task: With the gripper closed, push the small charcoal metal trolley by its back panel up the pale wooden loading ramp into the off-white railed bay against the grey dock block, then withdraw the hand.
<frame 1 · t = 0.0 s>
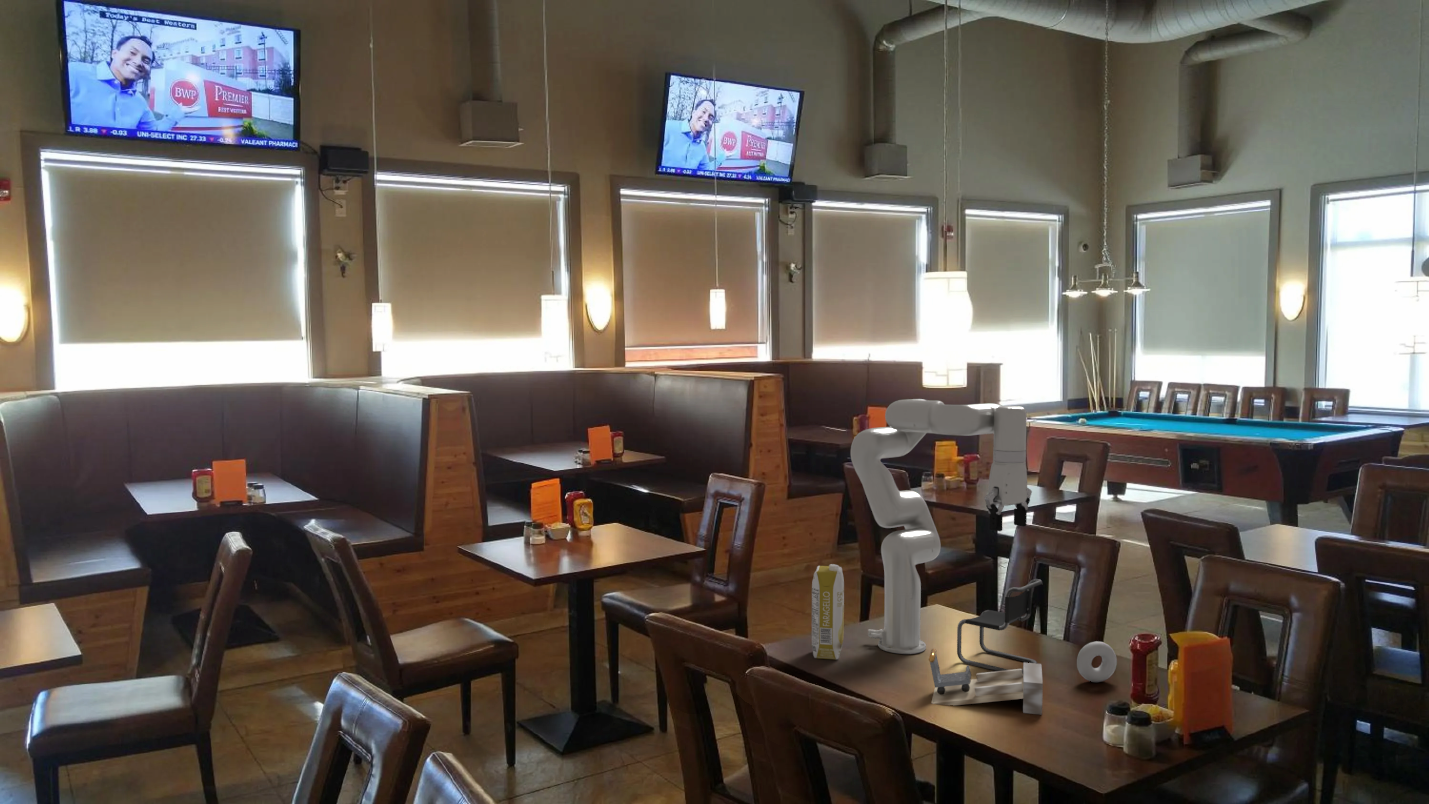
hand: (1008, 527, 242), 37 cm above the table, tool pointing down, fingers open, 9 cm apart
dock: (977, 697, 232), on the table
donut: (1096, 682, 243), on the table
chair: (998, 663, 257), on the table
juice carton: (827, 655, 264), on the table
trolley: (950, 672, 234), point 5 cm above the table, slide at 0.0 cm
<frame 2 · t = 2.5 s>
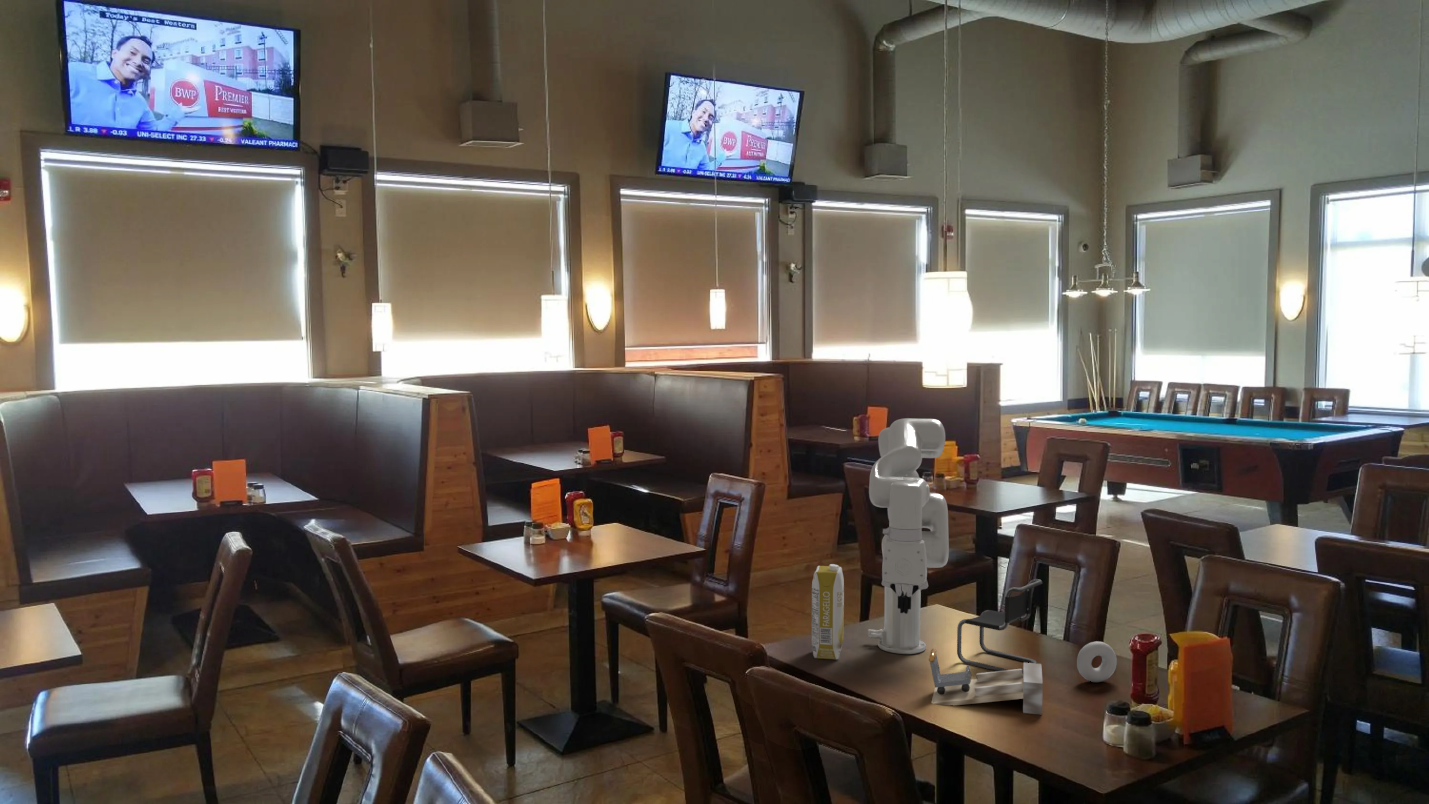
hand: (904, 611, 236), 19 cm above the table, tool pointing down, fingers closed
nothing on the table moved.
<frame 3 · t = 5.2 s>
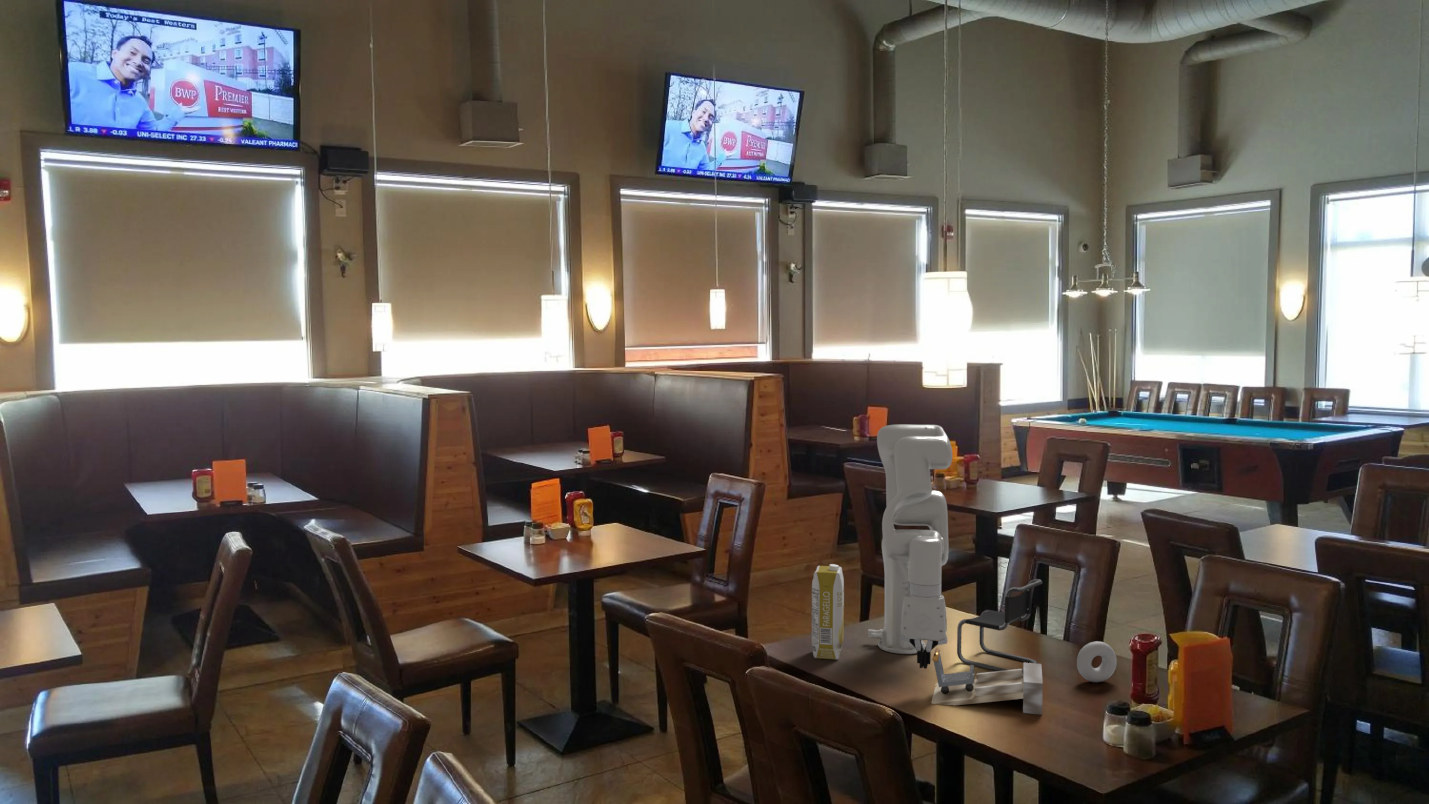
hand: (923, 666, 236), 6 cm above the table, tool pointing down, fingers closed
trolley: (954, 672, 234), point 5 cm above the table, slide at 0.9 cm, touching gripper
everything else where it was.
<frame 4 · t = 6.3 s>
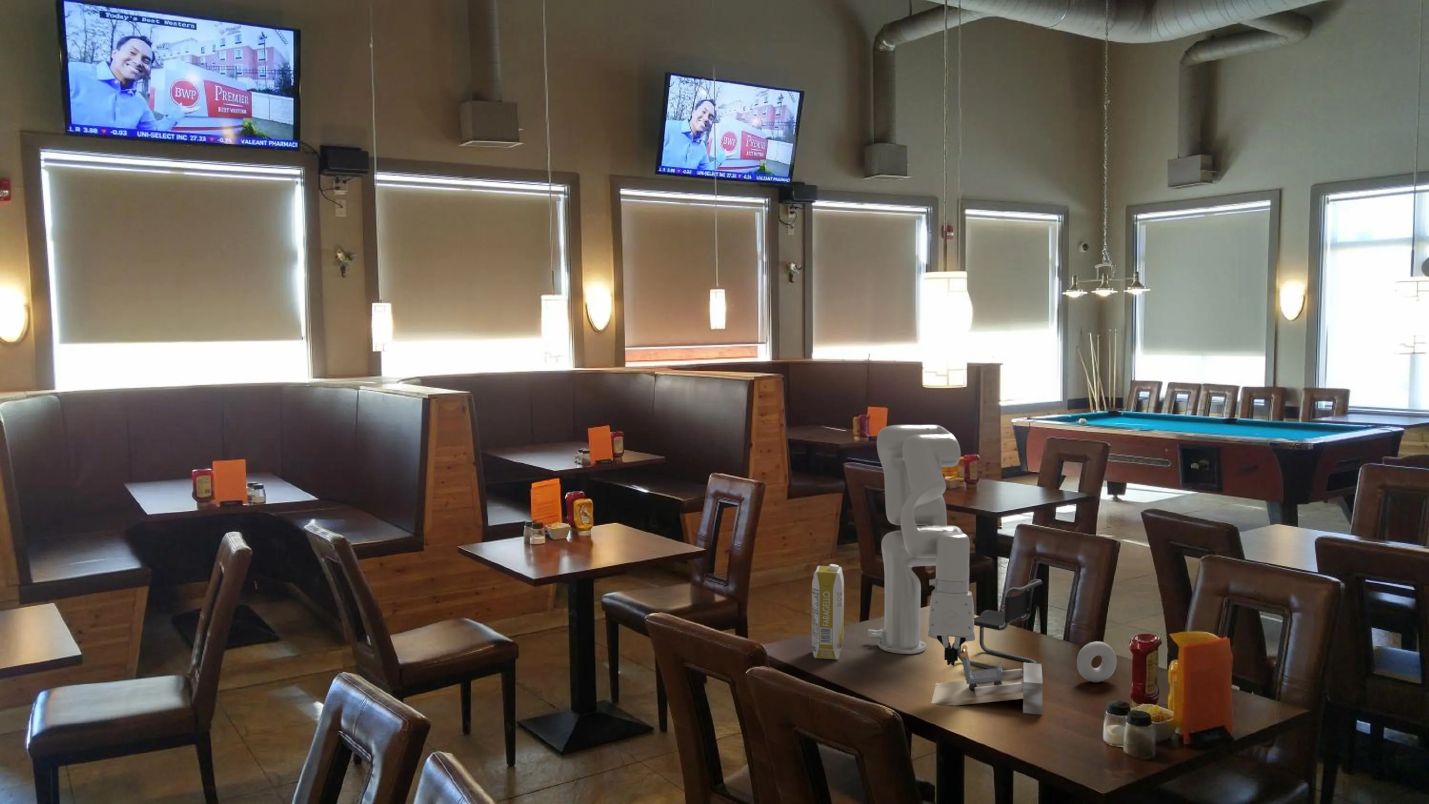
hand: (951, 663, 234), 7 cm above the table, tool pointing down, fingers closed
trolley: (981, 669, 232), point 7 cm above the table, slide at 7.3 cm, touching gripper
everything else where it was.
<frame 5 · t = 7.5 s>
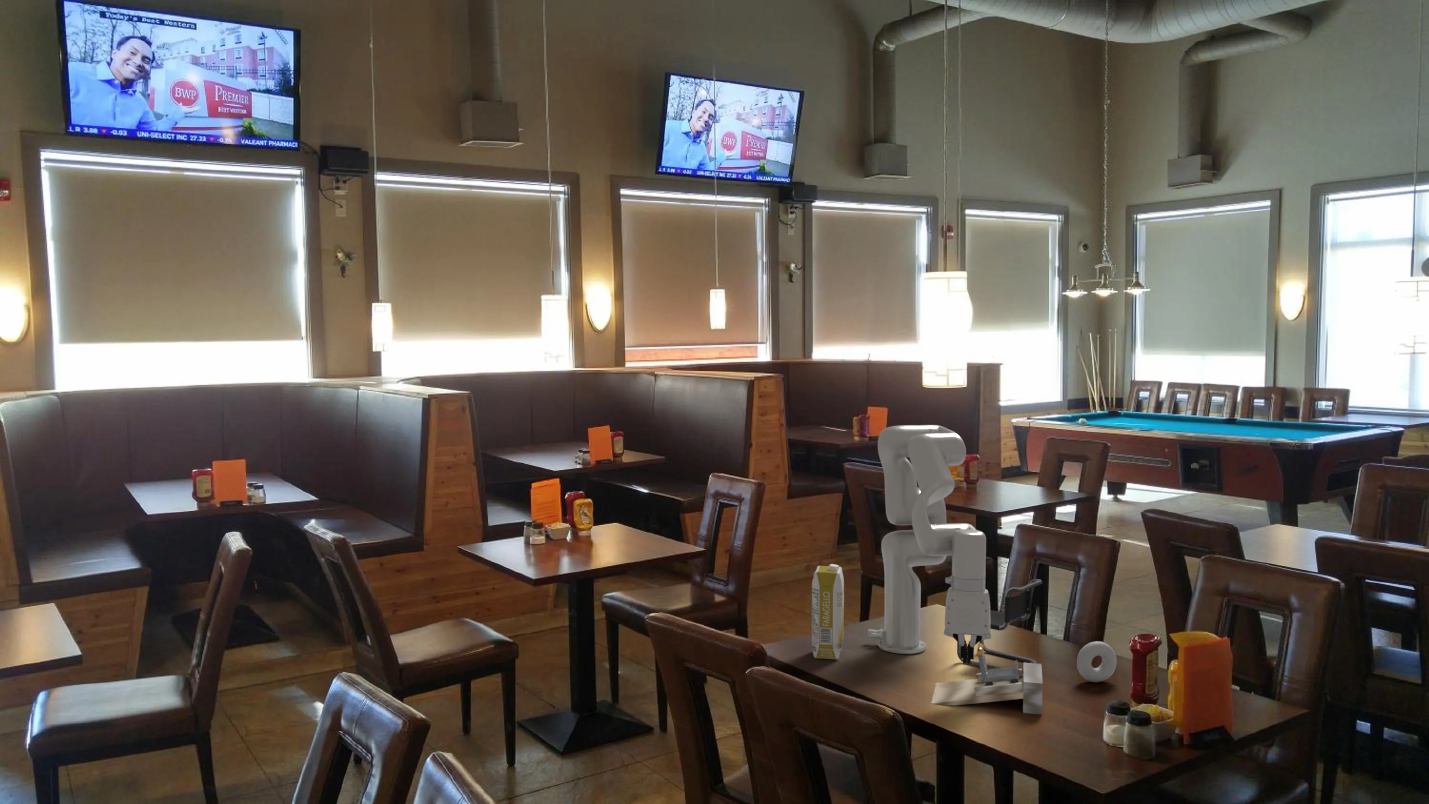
hand: (967, 661, 233), 8 cm above the table, tool pointing down, fingers closed
trolley: (998, 667, 231), point 7 cm above the table, slide at 10.9 cm, touching gripper
everything else where it was.
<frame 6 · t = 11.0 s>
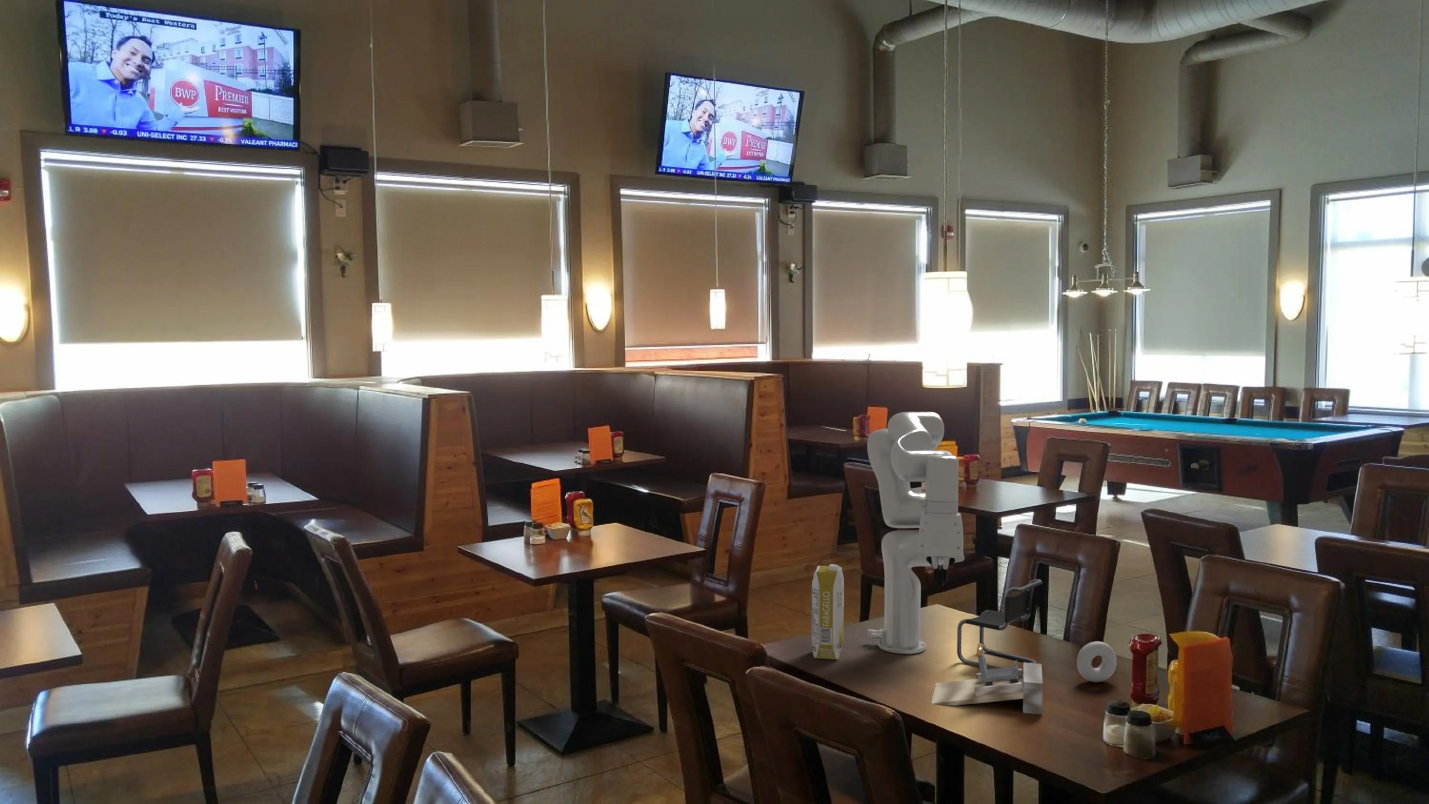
hand: (940, 584, 236), 25 cm above the table, tool pointing down, fingers closed
trolley: (997, 667, 231), point 7 cm above the table, slide at 10.9 cm
everything else where it was.
at the end: trolley slide at 10.9 cm; the gripper is holding nothing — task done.
